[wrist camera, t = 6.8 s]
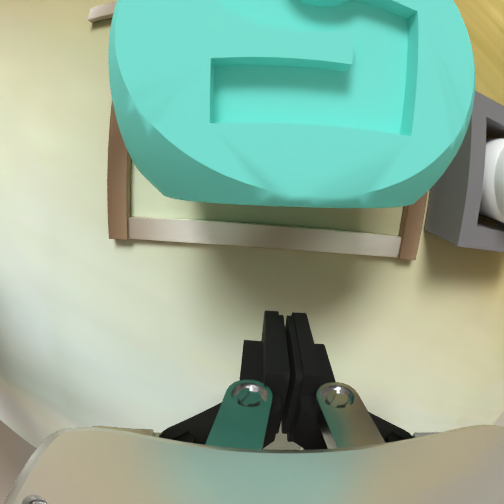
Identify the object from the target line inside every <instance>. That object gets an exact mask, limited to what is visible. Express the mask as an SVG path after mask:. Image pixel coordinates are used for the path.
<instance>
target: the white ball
mask: <svg viewBox="0 0 504 504" xmlns="http://www.w3.org/2000/svg"><path fill="white" fill-rule="evenodd" d="M479 214H481V215H484V216H487V217H489V218H492V219H495V220H498V221H500V222H503V223H504V139H503V138H486V153H485V167H484V178H483V187H482V195H481V202H480V209H479Z"/></svg>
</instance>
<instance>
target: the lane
mask: <svg viewBox="0 0 504 504" xmlns="http://www.w3.org/2000/svg"><path fill="white" fill-rule="evenodd" d="M116 2H117V1H116ZM116 2H112V3H108V4H104V5H100V6H97V7H93V8H91V9H90V13H89V16H88V20H89V21H90V22H91V23H93V22H97V21H101V20H105V19H109V18H113V13H114V9H115V5H116ZM130 187H131V157H130V155H129V153H128V151H127V148H126V146H125V143H124V141H123V138H122V135H121V133H120V129H119V126H118V123H117V119H116V115H115V111H114V106H113V101H112V106H111V116H110V129H109V145H108V179H107V194H108V228H109V239H123V240H128V239H142V240H157V241H173V242H188V243H203V244H217V245H232V246H247V247H261V248H275V249H289V250H303V251H317V252H331V253H345V254H358V255H371V256H385V257H398V258H399V259H409V260H415V259H416V255H417V250H418V245H419V240H420V235H421V230H422V224H423V218H424V212H425V206H426V199H427V192H426V193H425V194H424V195H423V196H422V197H421V198H420V199H418V200H417V201H416V202H415V203H414V204H412V205H408V206H404V207H403V214H402V220H401V226H400V232H399V236H391V235H381V234H372V233H361V232H351V231H340V230H329V229H318V228H306V227H294V226H281V225H268V224H255V223H240V222H225V221H209V220H191V219H172V218H151V217H131V207H130Z"/></svg>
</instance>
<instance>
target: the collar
mask: <svg viewBox="0 0 504 504" xmlns="http://www.w3.org/2000/svg"><path fill="white" fill-rule="evenodd" d="M486 135H487V136H489V137H492V138H503V139H504V106H502V105H501V104H499V103H497V102H495V101H493V100H492V99H490V98H488V97H486V96H484V95H482V94H480V93H478V92H476V91H475V95H474V103H473V109H472V114H471V118H470V122H469V125H468V129H467V132H466V134H465V137H464V140H463V142H462V144H461V146H460V148H459V150H458V152H457V154H456V156H455V157H454V159H453V160H452V162H451V163H450V165H449V166H448V168H447V169H446V171H445V172H444V174H443V175H442V176H441V177H440V178H439V179H438V181H437V182H436V183H435V184H434V185H433V186H432V187H431V189H430V195H429V202H428V209H427V215H426V221H425V227H424V230H426V231H428V232H430V233H432V234H434V235H436V236H438V237H440V238H442V239H444V240H446V241H448V242H450V243H452V244H454V245H456V246H458V247H466V248H475V249H483V250H490V251H498V252H504V223H503V222H500V221H498V223H497V224H494V223H490V222H485V221H480V220H478V215H479V209H480V202H481V195H482V187H483V178H484V167H485V153H486Z"/></svg>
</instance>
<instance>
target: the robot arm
mask: <svg viewBox="0 0 504 504" xmlns="http://www.w3.org/2000/svg"><path fill="white" fill-rule="evenodd" d="M280 423H281V424H282V433H283V434H287V440H288V442H295V443H296V444H298V445H299V446H300V447H299V450H263V448H264V447H266V446H267V445H269V444H270V443H271V442H273V441H274V439H275V435H276V433H278V432H279V427H280ZM4 504H504V427H501V426H496V425H476V426H469V427H463V428H458V429H454V430H449V431H445V432H436V433H414V434H413V436H411V435H410V433H408V432H407V431H405V430H403V429H401V428H399V427H397V426H395V425H393V424H391V423H389V422H387V421H385V420H383V419H381V418H379V417H377V416H375V415H373V414H371V413H370V412H368V411H367V409H366V407H365V406H364V404H363V402H362V400H361V399H360V397H359V395H358V393H357V392H356V391H355V390H354V389H353V388H352V387H350V386H349V385H346V384H344V383H339V382H335V379H334V375H333V372H332V368H331V365H330V362H329V358H328V355H327V352H326V349H325V346H324V344H314V341H313V337H312V334H311V330H310V326H309V322H308V319H307V315H306V313H295V312H292V315H291V316H287V318H286V325H284V317H283V315H279V313H278V311H265V313H264V323H263V332H262V341H251V340H244V345H243V354H242V364H241V373H240V381H237V382H234V383H233V384H232V385H230V386H229V388H228V389H227V391H226V393H225V396H224V399H223V401H222V403H220V404H218V405H216V406H214V407H212V408H210V409H208V410H206V411H204V412H202V413H200V414H197V415H195V416H193V417H191V418H189V419H187V420H185V421H183V422H180V423H178V424H176V425H174V426H171V427H169V428H167V429H166V430H164V431H163V432H162V433H154V432H153V430H150V429H130V428H117V427H106V426H92V427H77V428H68V429H63V430H60V431H57V432H55V433H53V434H51V435H50V436H49V437H48V438H46V439H45V440H44V441H43V442H42V443H41V445H40V446H39V447H38V448H37V449H36V451H35V452H34V453H33V455H32V456H31V457H30V459H29V460H28V461H27V463H26V464H25V466H24V468H23V469H22V471H21V472H20V474H19V476H18V478H17V479H16V481H15V482H14V484H13V486H12V488H11V490H10V492H9V494H8V496H7V498H6V500H5V502H4Z"/></svg>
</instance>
